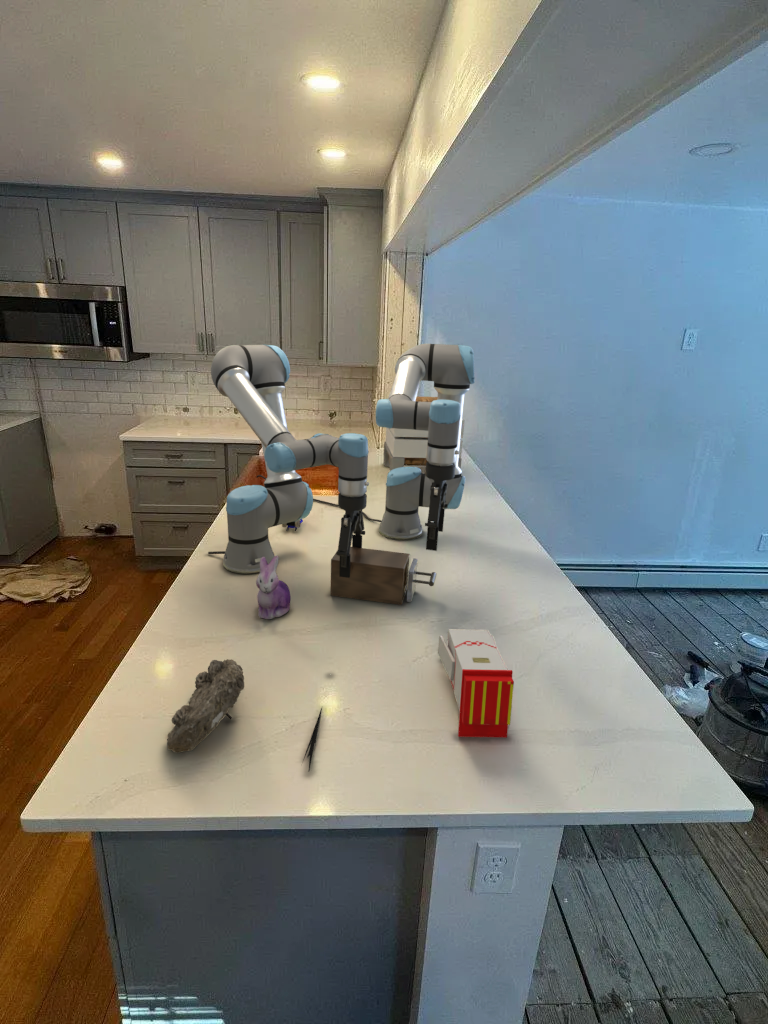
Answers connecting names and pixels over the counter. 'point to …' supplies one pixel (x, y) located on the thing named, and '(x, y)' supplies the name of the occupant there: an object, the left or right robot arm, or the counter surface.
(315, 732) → the feather
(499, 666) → the toy
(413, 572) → the drawer
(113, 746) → the counter surface
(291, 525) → the figurine character
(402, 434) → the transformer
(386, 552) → the cabinet
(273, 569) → the figurine
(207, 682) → the fossil
